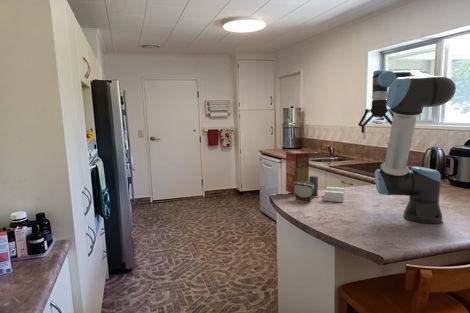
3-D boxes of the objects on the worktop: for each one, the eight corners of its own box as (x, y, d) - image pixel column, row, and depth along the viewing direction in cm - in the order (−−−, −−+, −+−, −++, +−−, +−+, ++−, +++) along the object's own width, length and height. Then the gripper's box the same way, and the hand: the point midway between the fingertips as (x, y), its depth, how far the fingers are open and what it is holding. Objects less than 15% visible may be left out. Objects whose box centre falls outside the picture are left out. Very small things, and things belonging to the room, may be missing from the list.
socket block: (343, 202, 174) (343, 193, 173) (324, 200, 177) (324, 191, 177) (344, 196, 186) (344, 187, 186) (326, 194, 190) (326, 186, 189)
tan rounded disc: (318, 198, 182) (318, 197, 182) (306, 197, 185) (306, 196, 185) (320, 195, 189) (320, 194, 189) (308, 194, 191) (308, 193, 191)
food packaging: (284, 190, 202) (285, 151, 199) (298, 189, 205) (298, 150, 202) (295, 195, 189) (296, 153, 186) (309, 194, 192) (310, 152, 189)
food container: (318, 201, 177) (318, 183, 175) (312, 203, 172) (313, 185, 171) (298, 197, 185) (299, 180, 184) (293, 199, 180) (293, 182, 179)
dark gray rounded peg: (316, 196, 183) (317, 177, 182) (308, 196, 185) (308, 177, 184) (318, 194, 188) (318, 176, 187) (309, 194, 190) (310, 175, 188)
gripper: (403, 99, 172) (401, 139, 175) (354, 100, 180) (353, 138, 183) (406, 98, 165) (404, 139, 168) (354, 99, 173) (353, 139, 175)
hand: (377, 139), depth 175 cm, fingers open, 13 cm apart
